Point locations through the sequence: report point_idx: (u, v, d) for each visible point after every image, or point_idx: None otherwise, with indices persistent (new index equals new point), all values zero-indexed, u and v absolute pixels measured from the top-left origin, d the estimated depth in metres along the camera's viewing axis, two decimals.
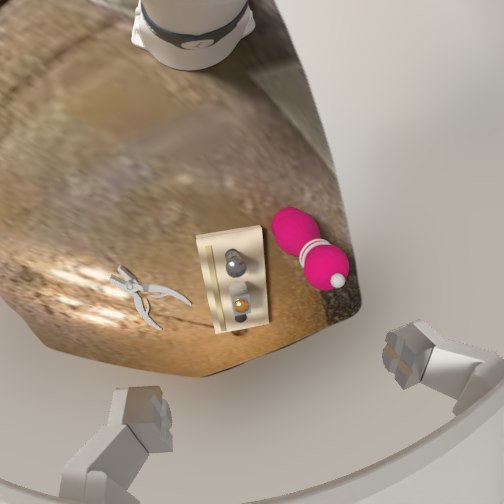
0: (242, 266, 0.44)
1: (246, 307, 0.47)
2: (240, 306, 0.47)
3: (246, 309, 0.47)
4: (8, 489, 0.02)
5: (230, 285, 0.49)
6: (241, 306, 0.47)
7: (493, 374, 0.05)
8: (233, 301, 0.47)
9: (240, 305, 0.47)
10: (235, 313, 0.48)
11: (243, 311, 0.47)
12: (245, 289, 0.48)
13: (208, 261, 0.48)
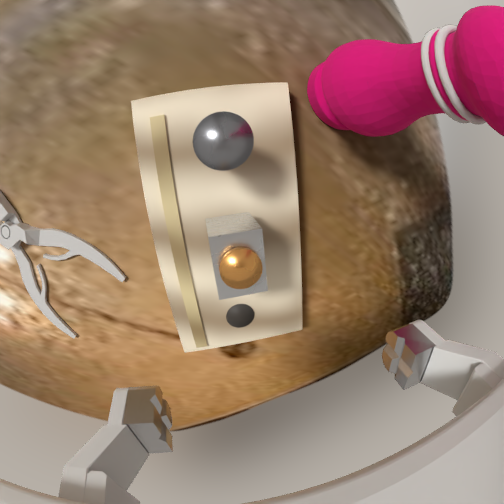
0: (241, 134, 0.14)
1: (254, 270, 0.16)
2: (236, 266, 0.16)
3: (254, 277, 0.16)
4: (8, 488, 0.02)
5: (211, 219, 0.19)
6: (239, 266, 0.16)
7: (493, 374, 0.05)
8: (214, 250, 0.16)
9: (234, 264, 0.16)
10: (222, 291, 0.17)
11: (245, 283, 0.16)
12: (250, 222, 0.17)
13: (157, 157, 0.18)
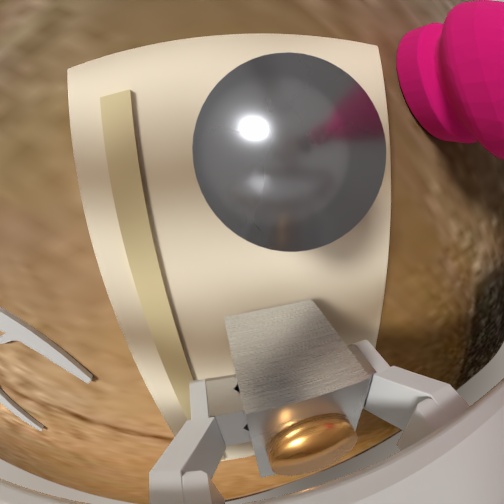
0: (355, 134, 0.04)
1: (340, 449, 0.06)
2: (306, 454, 0.06)
3: (337, 456, 0.06)
4: (8, 489, 0.02)
5: (237, 320, 0.09)
6: (312, 453, 0.06)
7: (440, 413, 0.05)
8: (259, 431, 0.06)
9: (304, 453, 0.06)
10: (268, 470, 0.07)
11: (317, 466, 0.06)
12: (332, 345, 0.07)
13: (116, 184, 0.08)
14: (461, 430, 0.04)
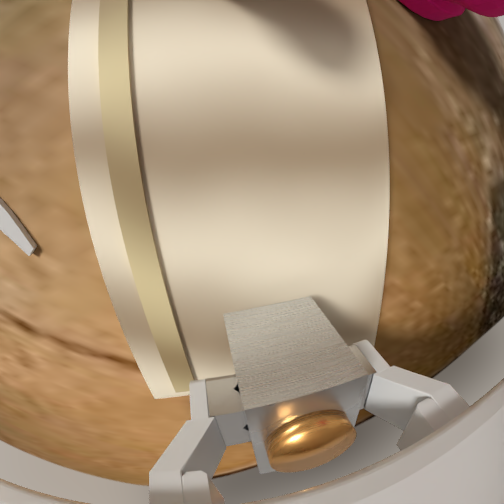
0: None
1: (338, 446, 0.06)
2: (305, 450, 0.06)
3: (335, 453, 0.06)
4: (8, 489, 0.02)
5: (236, 317, 0.09)
6: (311, 449, 0.06)
7: (440, 413, 0.05)
8: (258, 426, 0.06)
9: (303, 448, 0.06)
10: (267, 466, 0.07)
11: (316, 463, 0.06)
12: (330, 341, 0.07)
13: None
14: (461, 430, 0.04)
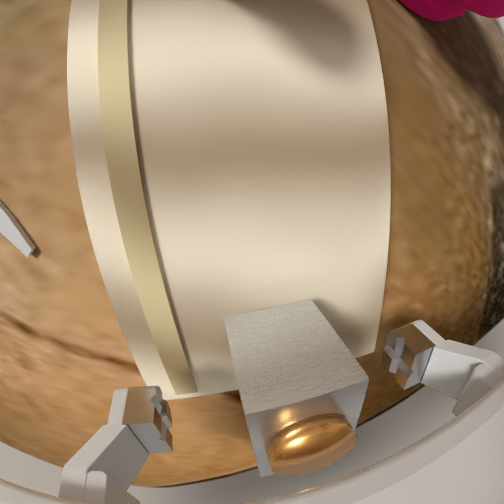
0: None
1: (339, 449, 0.06)
2: (306, 454, 0.06)
3: (336, 456, 0.06)
4: (8, 489, 0.02)
5: (237, 320, 0.09)
6: (312, 453, 0.06)
7: (493, 374, 0.05)
8: (259, 430, 0.06)
9: (303, 452, 0.06)
10: (268, 469, 0.07)
11: (317, 466, 0.06)
12: (331, 345, 0.07)
13: None
14: (461, 430, 0.04)
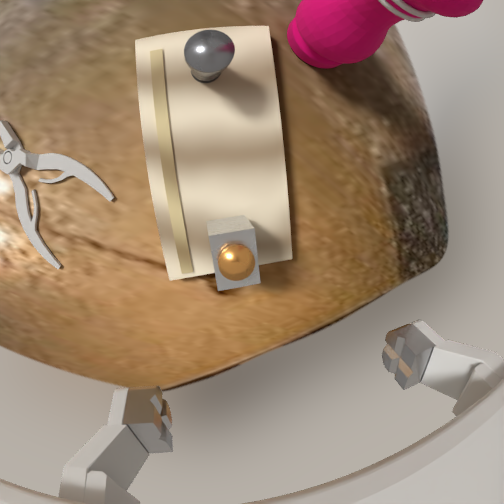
0: (224, 45, 0.14)
1: (248, 264, 0.19)
2: (232, 260, 0.18)
3: (248, 270, 0.19)
4: (8, 489, 0.02)
5: (211, 221, 0.22)
6: (235, 260, 0.18)
7: (493, 374, 0.05)
8: (214, 247, 0.18)
9: (231, 258, 0.18)
10: (221, 283, 0.19)
11: (240, 276, 0.19)
12: (245, 223, 0.20)
13: (154, 81, 0.18)
14: (461, 430, 0.04)
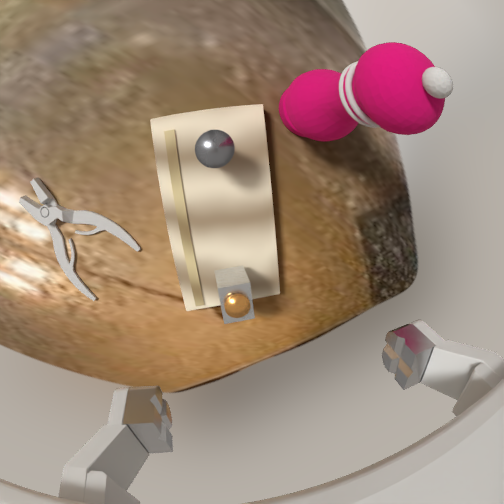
0: (226, 144, 0.22)
1: (245, 307, 0.26)
2: (234, 305, 0.26)
3: (245, 311, 0.26)
4: (8, 489, 0.02)
5: (218, 271, 0.29)
6: (236, 305, 0.26)
7: (493, 374, 0.05)
8: (221, 295, 0.26)
9: (233, 304, 0.26)
10: (226, 319, 0.27)
11: (240, 314, 0.26)
12: (243, 276, 0.27)
13: (169, 159, 0.25)
14: (461, 430, 0.04)
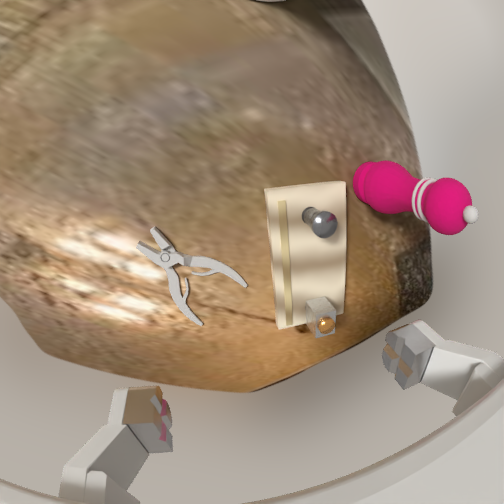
0: (332, 222, 0.33)
1: (332, 326, 0.37)
2: (325, 325, 0.37)
3: (331, 329, 0.37)
4: (8, 489, 0.02)
5: (308, 301, 0.40)
6: (326, 325, 0.37)
7: (493, 374, 0.05)
8: (317, 320, 0.37)
9: (325, 325, 0.37)
10: (317, 335, 0.38)
11: (328, 331, 0.37)
12: (329, 305, 0.38)
13: (280, 223, 0.36)
14: (461, 430, 0.04)
